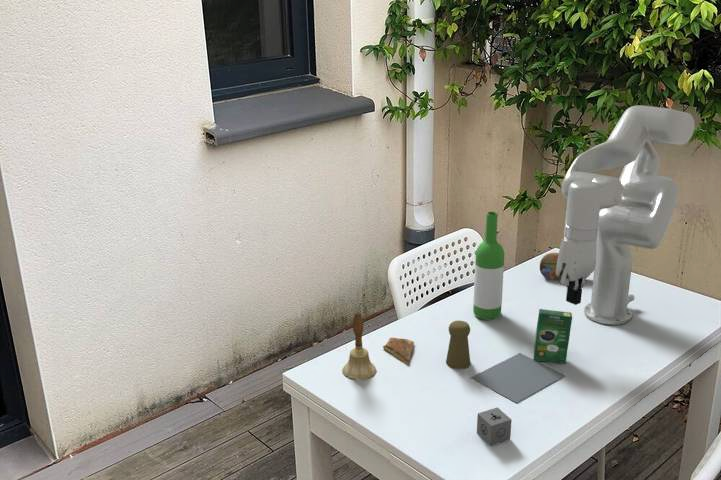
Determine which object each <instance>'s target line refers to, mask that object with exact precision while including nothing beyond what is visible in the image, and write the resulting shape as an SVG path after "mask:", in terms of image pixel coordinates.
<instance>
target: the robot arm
mask: <svg viewBox="0 0 721 480" xmlns="http://www.w3.org/2000/svg"><path fill="white" fill-rule="evenodd" d="M694 133H695V119H694V117H693V115H692V114H691V113H689V112H684V111H681V110H676V109H675V108H674V109H673V108H667V107H661V106H659V107H658V106H650V105H633V106H630V107H628V108H626V109H625V111H624V112H623V113H622V115H621V117H620V118H619V120H618V122H617V123H616V125H615V127H614V128H613V129H612V132H611V133H610V135H609V136H608V138H607V140H606V141H604V142H602V143H599V144H597V145H595V146H593V147H591V148H589V149H587V150H585V151H584V152H582V153H581V154H580V155H578V156H577V157H576V158H575V159H574V160H573V162H572V164H571V165H570V167H569V168H568V170H567V172H566V173H565V175H564V178H563V179H562V183H561V192H562V195H563V197H564V198H566V199H567V204H566V214H565V223H564V230H563V231H564V233H563V237H564V238H562V239H561V240H562V241H561V243H560V246H559V250H558V253H559V255H558V260H557V267H556V276H558V277H560V276H562V278H561V281H560V282H559V283H560V285H561V286H565V287H566V299H565V301H566V302H567V303H570V304H572V305H575V306H577V305H578V304H581V303H582V296H583V295H582V293H583V288H584V287H585V283H586V279H587V278H589V277H591V274H593V281H592V287H591V288H592V290H591V300H590V303H588V304H586V305H585V307H584V309H583V313H584V315H585V316H586V317H587V318H588V319H589V320H591V321H593V322H596V323H597V324H603V325H611V326H612V325H614V326H615V325H616V326H617V325H618V326H619V325H623V324H626V323H628V322H630V321H631V320H632V317H633V313H632V311H631V310H630V309H629V308H628V305H629V303H631V302H634V300H635V299H636V297H635V295H634V294H629V292H630V285H631V284H630V283H631V277H632V267H633V261H634V259H633V252H632V251H631V248H630V246H632V247H637V248H642V249H647V250H654V249H657V248H658V247H659V246H660V245H661V243H662V242H663V240H664V238H665V235H666V232H667V230H668V227H669V226H670V225H669V224H670V222H671V220H672V217H673V215H674V212H675V209H676V206H677V204H678V201H679V195H680V188H679V184H678V182H677V181H675V180H674V179H672V178H670V177H667V176H662V175H661V176H660V175H658V172H659V170H660V166H661V159H660V156H659V154H658V152H657V150H656V149H655V147H654V146H653V144H652V142H658V143H666V144H673V145H677V146H678V145H679V146H680V145H682V146H683V145H685V144H686V143H689V141H690V139H691V138H692V137H693V134H694ZM651 141H652V142H651ZM618 167H623V169H622V171H621V174H620V176H619V178H617V177H613V176H609V175H604V174H603V175H602V174H599V173H594V172H597V171H600V170H607V169H615V168H618ZM617 204H618V205H617ZM619 204H620V205H619Z"/></svg>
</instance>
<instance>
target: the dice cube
mask: <svg viewBox="0 0 721 480" xmlns="http://www.w3.org/2000/svg"><path fill="white" fill-rule="evenodd" d="M511 432H512V418H511V417H509V416H508V415H507V414H506V413H505V412H504V411H502V410H501V409H500V408H499V407H498V406H497V407H494V408H490V409H488V410H485V411H482V412H481V411H480V412H479V413H477V420H476V434H477V435H478V436H479V437H480V438H481V439H482V440H483V441H484V442H485V443H486V444H488V446H490V447H492V446H496V445H497V444H501V443H504V442H507V441H510V440H511V434H512V433H511Z"/></svg>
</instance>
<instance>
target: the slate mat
mask: <svg viewBox="0 0 721 480" xmlns="http://www.w3.org/2000/svg"><path fill="white" fill-rule="evenodd" d="M564 377H566V374H564V373H563V372H560V371H558V370H556V369H555V368H552V367H550V366H548V365H547V364H544V363H542V362H541V361H539V360H534V358H531V357H529V356H527V355H525V354H523V353H521V352H519V353H517V354H515V355H513V356H510V357H509V358H507V359H504V360H503V361H501V362H499V363H497V364H495V365H493V366H490V367H489V368H487V369H485V370H483V371H481V372H479V373H477V374H475V375H473V376H471V377H470V379H471V380H473V381H475V382H477V383H479V384H480V385H481V386H482V385H483V386H484V387H486V388H488V389H490V390H491V391H494V393H497V394H499V395H500V396H502V397H504V398H506V399H508V400H509V401H512V402H513V403H515V404H518V403H520V402H522V401H523V400H525V399H527V398H528V397H531V396H532V395H534V394H536V393H537V392H539V391H541V390H542V389H545V388H547V387H548V386H550V385H552V384H554V383H555V382H557V381H559V380H562V379H563V378H564Z"/></svg>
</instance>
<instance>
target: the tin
mask: <svg viewBox="0 0 721 480" xmlns="http://www.w3.org/2000/svg"><path fill="white" fill-rule="evenodd" d="M558 255H559V252H549V253H547V254H544V255H543V256H542V258H541V260H540V262H539V272H540V274H541V275H542V276H543V278H545V279H547V280H549V281H560V282H561V278H562V276H560V277H558V276H556V267H557V260H558Z"/></svg>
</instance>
